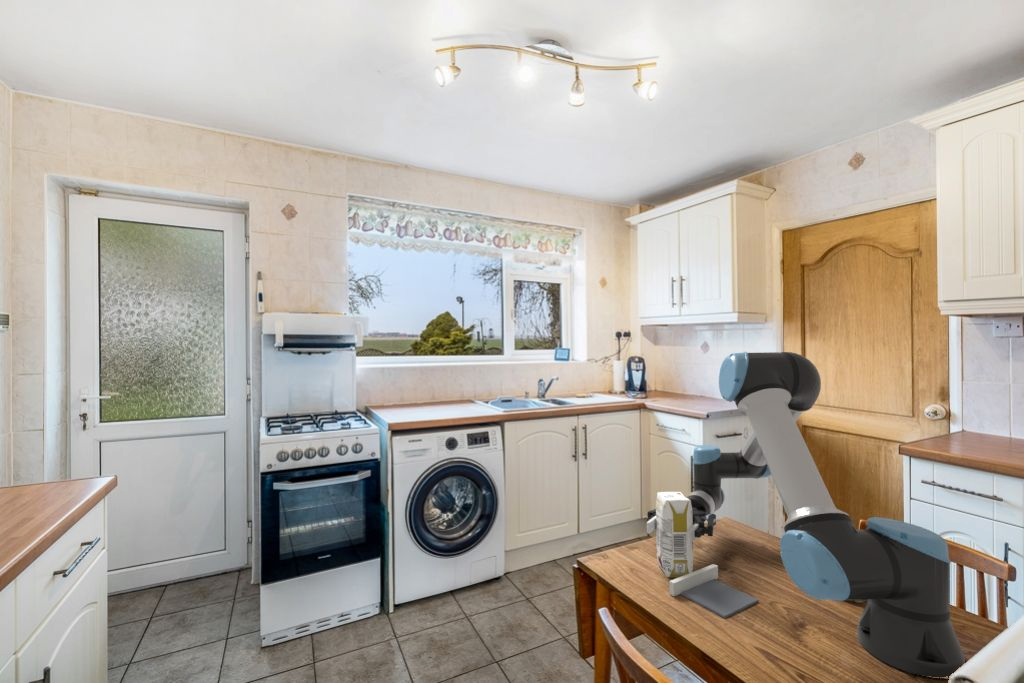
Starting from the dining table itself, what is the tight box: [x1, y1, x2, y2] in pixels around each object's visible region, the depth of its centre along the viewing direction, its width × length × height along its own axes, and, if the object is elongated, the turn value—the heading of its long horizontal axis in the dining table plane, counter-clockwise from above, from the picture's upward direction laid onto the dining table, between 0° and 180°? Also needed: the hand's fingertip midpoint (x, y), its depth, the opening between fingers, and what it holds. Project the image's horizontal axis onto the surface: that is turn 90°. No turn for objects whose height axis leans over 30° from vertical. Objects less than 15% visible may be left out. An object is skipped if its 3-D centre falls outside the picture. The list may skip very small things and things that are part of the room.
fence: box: [668, 563, 719, 597], centre depth 112 cm, size 1×16×3 cm, turn 121°
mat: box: [680, 579, 759, 619], centre depth 106 cm, size 11×12×1 cm
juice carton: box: [655, 491, 694, 579], centre depth 119 cm, size 8×9×19 cm
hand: (667, 532), depth 116 cm, fingers open, 9 cm apart
